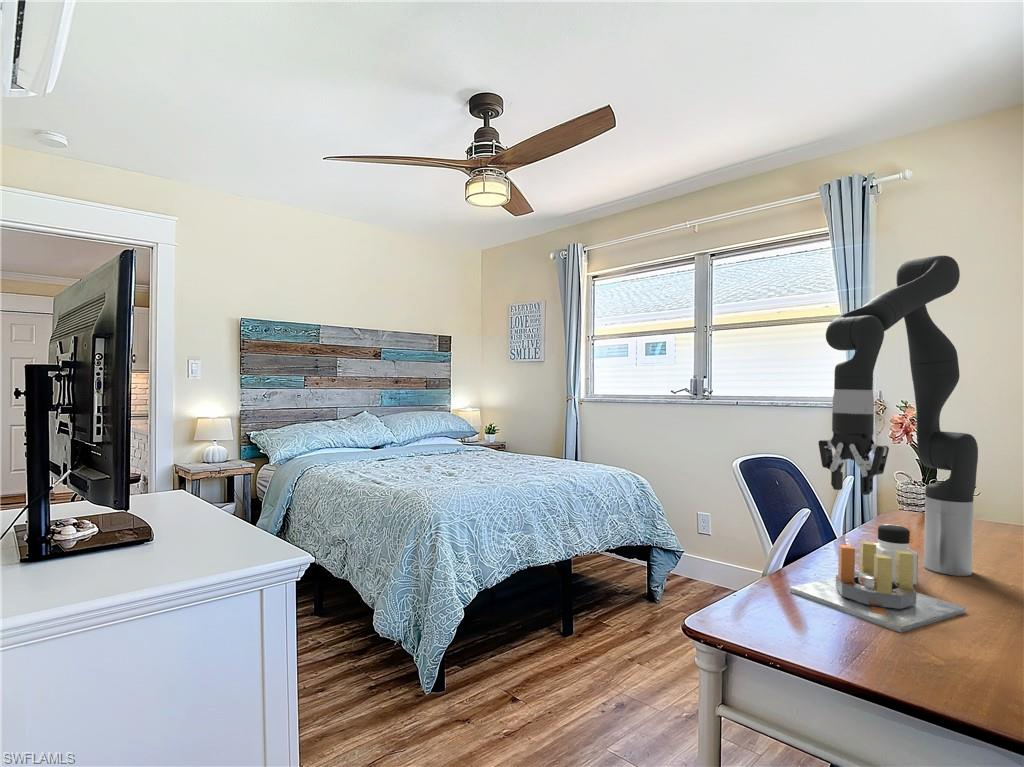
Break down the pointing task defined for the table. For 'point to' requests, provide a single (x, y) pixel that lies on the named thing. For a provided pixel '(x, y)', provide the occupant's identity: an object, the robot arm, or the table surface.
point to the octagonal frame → (876, 577)
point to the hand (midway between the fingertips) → (851, 491)
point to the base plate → (887, 617)
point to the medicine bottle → (895, 545)
